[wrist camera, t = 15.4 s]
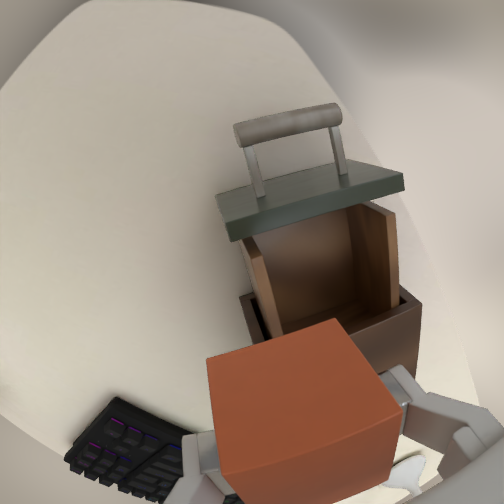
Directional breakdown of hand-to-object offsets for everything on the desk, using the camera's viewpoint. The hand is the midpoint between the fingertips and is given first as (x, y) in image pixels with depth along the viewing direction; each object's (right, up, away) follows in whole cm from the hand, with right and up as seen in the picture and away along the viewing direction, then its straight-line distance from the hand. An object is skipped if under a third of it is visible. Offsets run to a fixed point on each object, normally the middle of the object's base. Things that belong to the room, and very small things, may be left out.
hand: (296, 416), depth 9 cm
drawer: (+2, +8, +18) cm, 19 cm away
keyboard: (-7, -28, +31) cm, 43 cm away
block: (0, +1, +2) cm, 2 cm away
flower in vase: (+31, -41, +44) cm, 68 cm away
